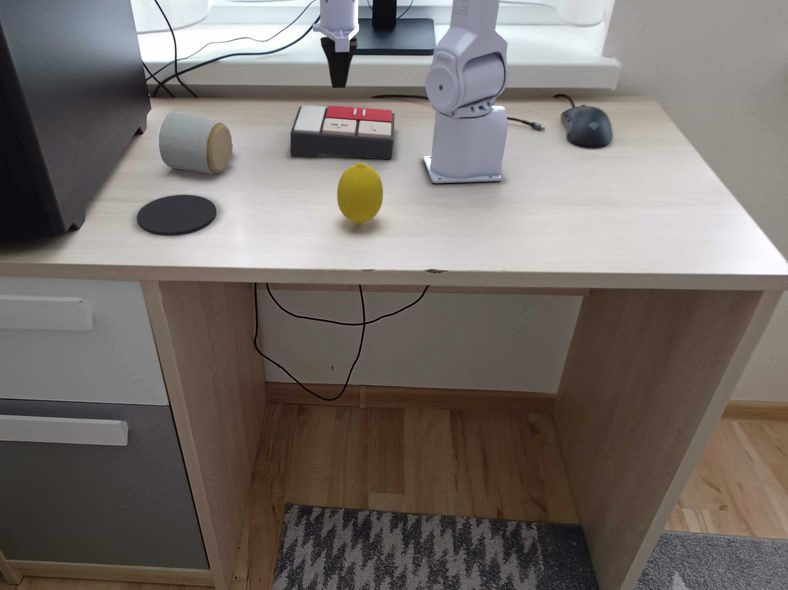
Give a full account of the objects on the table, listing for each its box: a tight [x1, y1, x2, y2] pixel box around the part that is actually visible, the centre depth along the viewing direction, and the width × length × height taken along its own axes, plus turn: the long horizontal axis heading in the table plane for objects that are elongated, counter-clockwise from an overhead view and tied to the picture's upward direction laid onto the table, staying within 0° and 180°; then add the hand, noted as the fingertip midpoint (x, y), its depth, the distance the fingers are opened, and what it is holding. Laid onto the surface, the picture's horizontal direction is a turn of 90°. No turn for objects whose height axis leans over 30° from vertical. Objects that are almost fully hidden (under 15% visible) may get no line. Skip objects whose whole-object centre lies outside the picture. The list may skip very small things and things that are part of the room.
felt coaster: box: [136, 194, 217, 236], centre depth 83 cm, size 10×10×1 cm
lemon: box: [336, 161, 384, 226], centre depth 78 cm, size 6×6×8 cm
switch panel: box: [289, 104, 396, 160], centre depth 98 cm, size 11×4×15 cm
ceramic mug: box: [158, 110, 234, 174], centre depth 92 cm, size 11×8×8 cm
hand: (338, 86), depth 105 cm, fingers closed
